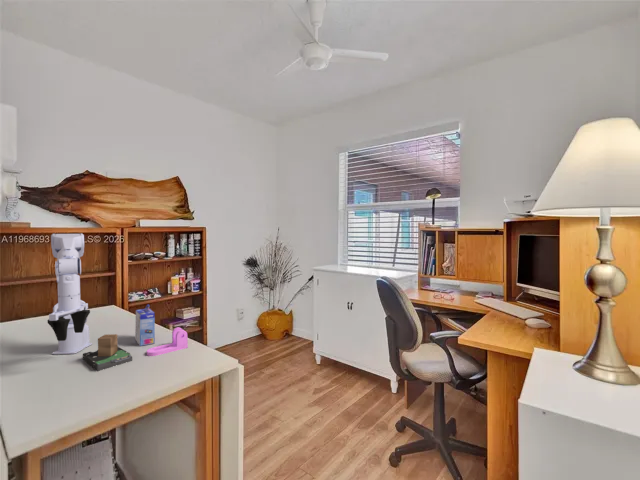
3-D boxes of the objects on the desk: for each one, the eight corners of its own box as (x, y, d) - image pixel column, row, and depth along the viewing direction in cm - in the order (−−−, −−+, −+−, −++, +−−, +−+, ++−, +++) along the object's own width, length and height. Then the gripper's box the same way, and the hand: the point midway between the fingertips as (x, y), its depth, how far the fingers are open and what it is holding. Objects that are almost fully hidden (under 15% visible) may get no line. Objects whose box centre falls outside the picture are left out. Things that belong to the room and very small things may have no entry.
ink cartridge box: (156, 343, 122) (155, 306, 121) (139, 347, 118) (138, 308, 118) (150, 336, 129) (149, 302, 129) (135, 339, 126) (134, 304, 125)
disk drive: (81, 361, 107) (97, 373, 98) (81, 353, 107) (97, 364, 98) (116, 352, 115) (133, 362, 106) (115, 344, 115) (133, 353, 106)
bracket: (182, 344, 121) (182, 326, 121) (187, 348, 117) (187, 329, 117) (145, 353, 112) (144, 334, 112) (149, 357, 108) (148, 338, 108)
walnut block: (105, 351, 108) (105, 334, 108) (117, 351, 108) (117, 334, 108) (98, 356, 104) (97, 338, 104) (110, 356, 105) (110, 338, 104)
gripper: (65, 299, 95) (67, 344, 95) (96, 290, 109) (97, 328, 110) (41, 300, 94) (42, 344, 95) (75, 290, 109) (76, 329, 109)
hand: (70, 336), depth 102 cm, fingers open, 7 cm apart
